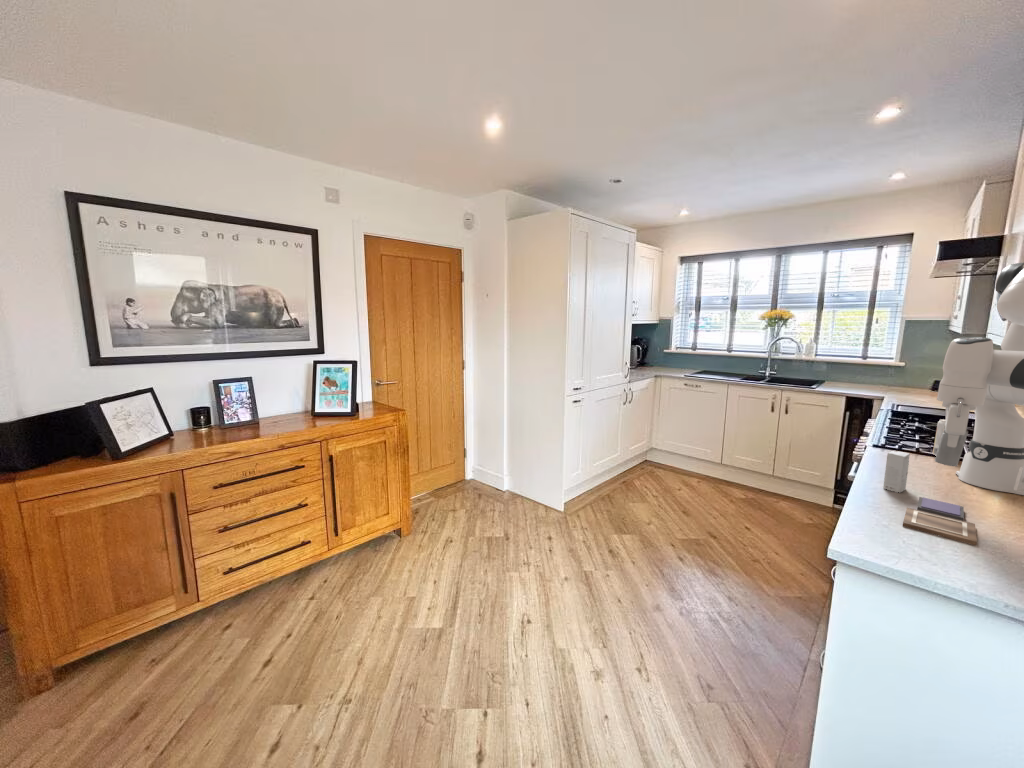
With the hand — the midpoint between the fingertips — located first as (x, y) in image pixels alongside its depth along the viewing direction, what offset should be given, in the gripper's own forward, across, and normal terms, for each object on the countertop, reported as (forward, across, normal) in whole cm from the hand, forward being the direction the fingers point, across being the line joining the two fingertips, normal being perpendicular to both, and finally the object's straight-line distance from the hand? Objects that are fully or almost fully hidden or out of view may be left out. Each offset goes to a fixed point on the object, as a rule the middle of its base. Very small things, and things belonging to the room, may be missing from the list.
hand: (951, 444), depth 114 cm
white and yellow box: (+19, +68, 0) cm, 71 cm away
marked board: (+20, -13, 0) cm, 24 cm away
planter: (+6, 0, 0) cm, 6 cm away
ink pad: (+20, 0, 0) cm, 20 cm away
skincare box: (+20, +12, +10) cm, 25 cm away
